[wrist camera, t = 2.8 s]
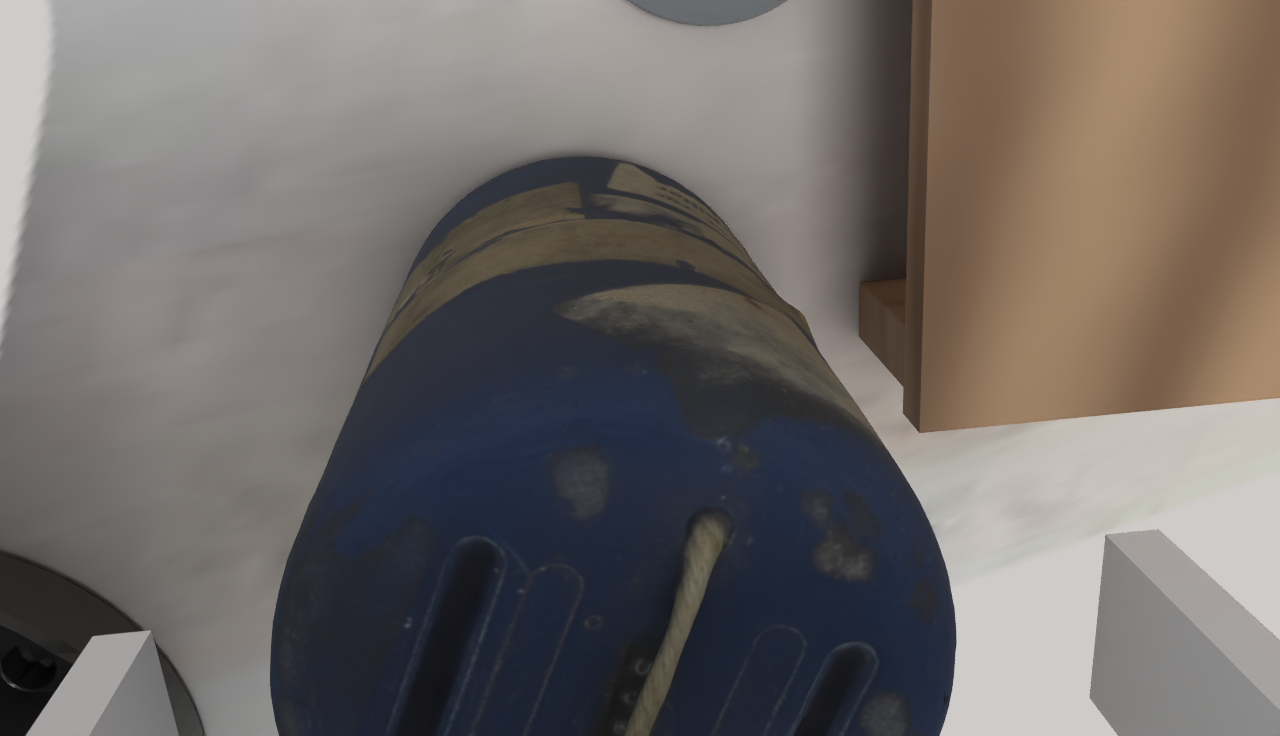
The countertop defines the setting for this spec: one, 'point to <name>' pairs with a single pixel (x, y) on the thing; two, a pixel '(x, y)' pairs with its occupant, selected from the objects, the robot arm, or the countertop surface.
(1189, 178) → the step stool
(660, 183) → the canister
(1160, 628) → the robot arm
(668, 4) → the slate coaster
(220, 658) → the countertop surface
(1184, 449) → the countertop surface
